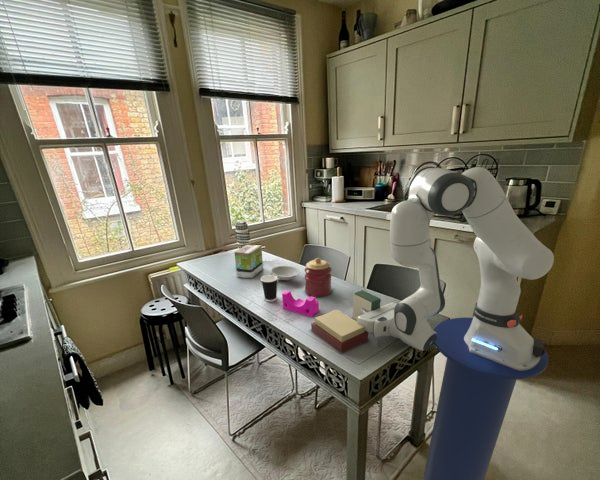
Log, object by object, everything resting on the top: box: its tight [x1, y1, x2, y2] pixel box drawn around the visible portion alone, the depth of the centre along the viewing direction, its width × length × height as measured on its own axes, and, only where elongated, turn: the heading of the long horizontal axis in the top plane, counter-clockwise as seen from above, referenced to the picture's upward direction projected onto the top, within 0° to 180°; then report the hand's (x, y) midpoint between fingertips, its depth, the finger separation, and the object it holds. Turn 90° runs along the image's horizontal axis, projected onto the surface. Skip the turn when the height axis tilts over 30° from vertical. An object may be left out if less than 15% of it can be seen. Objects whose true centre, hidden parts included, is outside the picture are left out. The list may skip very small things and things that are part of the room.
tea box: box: [234, 244, 264, 279], centre depth 179 cm, size 15×10×15 cm, turn 162°
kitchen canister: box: [304, 257, 332, 298], centre depth 153 cm, size 13×13×18 cm
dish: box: [270, 265, 301, 281], centre depth 171 cm, size 18×14×5 cm
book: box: [352, 289, 382, 321], centre depth 126 cm, size 10×5×12 cm, turn 34°
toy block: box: [281, 289, 320, 318], centre depth 139 cm, size 15×6×8 cm, turn 56°
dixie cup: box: [260, 274, 279, 303], centre depth 148 cm, size 8×8×11 cm
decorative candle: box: [234, 220, 251, 250], centre depth 197 cm, size 9×9×25 cm
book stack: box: [310, 309, 369, 354], centre depth 119 cm, size 18×13×6 cm
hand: (366, 308), depth 126 cm, fingers closed on book, 4 cm apart
